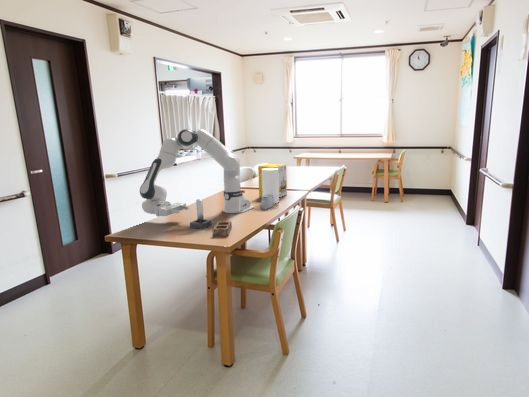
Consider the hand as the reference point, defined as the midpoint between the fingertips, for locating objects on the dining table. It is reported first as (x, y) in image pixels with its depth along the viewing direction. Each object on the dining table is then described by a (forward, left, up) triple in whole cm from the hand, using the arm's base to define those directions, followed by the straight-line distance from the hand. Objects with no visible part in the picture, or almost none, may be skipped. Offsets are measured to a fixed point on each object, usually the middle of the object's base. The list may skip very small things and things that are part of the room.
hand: (183, 209), depth 228 cm
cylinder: (-76, +7, -9) cm, 77 cm away
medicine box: (-61, +16, -9) cm, 64 cm away
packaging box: (-94, -5, -9) cm, 95 cm away
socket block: (-3, +12, -9) cm, 15 cm away
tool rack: (-2, +32, -9) cm, 33 cm away
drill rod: (-3, +12, -9) cm, 15 cm away
